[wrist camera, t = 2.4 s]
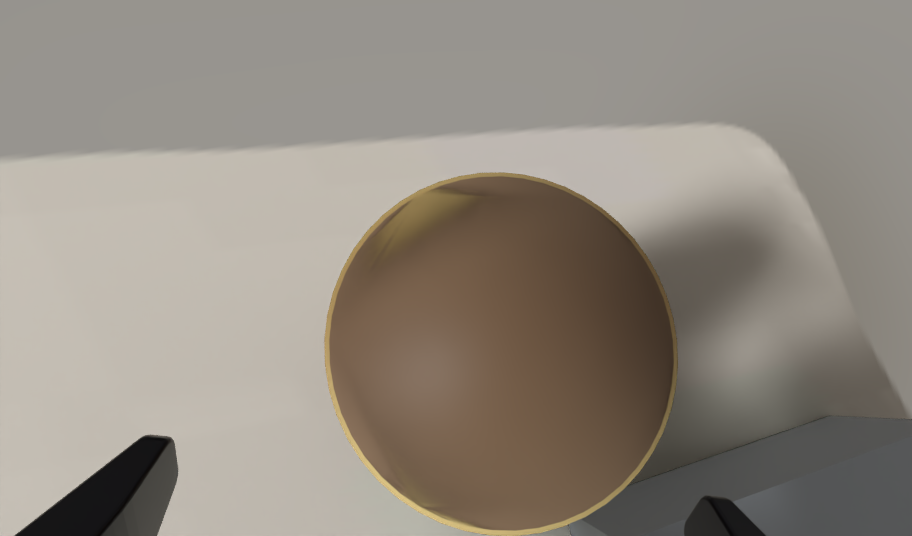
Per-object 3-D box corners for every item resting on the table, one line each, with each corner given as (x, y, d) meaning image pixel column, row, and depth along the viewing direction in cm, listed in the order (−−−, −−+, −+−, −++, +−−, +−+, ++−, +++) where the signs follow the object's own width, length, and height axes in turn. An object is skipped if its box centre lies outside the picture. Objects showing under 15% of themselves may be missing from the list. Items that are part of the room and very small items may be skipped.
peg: (494, 419, 19) (728, 467, 6) (379, 454, 18) (375, 592, 5) (462, 305, 19) (612, 143, 7) (350, 335, 19) (288, 212, 6)
